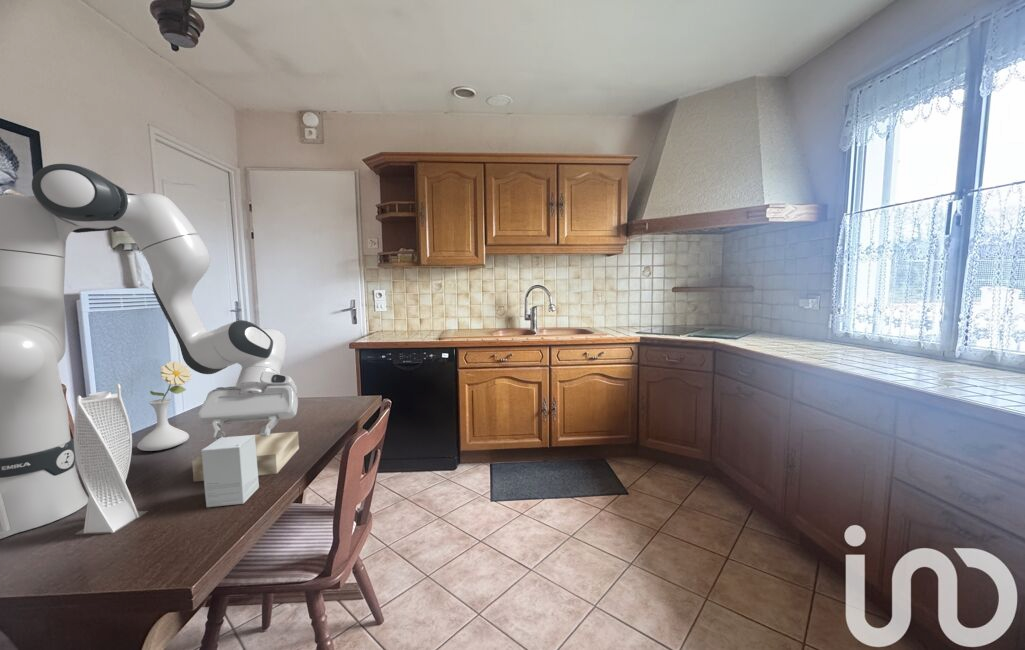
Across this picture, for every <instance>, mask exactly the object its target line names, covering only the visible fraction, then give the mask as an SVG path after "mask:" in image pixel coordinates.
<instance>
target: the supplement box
mask: <svg viewBox="0 0 1025 650" xmlns="http://www.w3.org/2000/svg"><path fill="white" fill-rule="evenodd" d="M248 435H249V436H245V435H235V436H236V437H232V436H227V437H225V436H224V437H221V438H219V439H218V440H214V441H213V442H211V443H210V444H209V445H207V446H205V447H204V448H202V449H201V450H200V454H201V455H202V465H203V476H204V481H203V486H204V496H205V503H206V504H205V506H206V508H213V507H214V508H215V507H222V506H232V505H242V504H243V505H244V504H245V503H246V502H247V500H249V498H251V496H253V494H254V493H256V491H257V490H259V488H260V484H259V476H258V468H257V455H256V443H255V435H256V434H251V435H250V434H248ZM201 455H200V456H201Z"/></svg>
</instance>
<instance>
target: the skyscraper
mask: <svg viewBox="0 0 1025 650" xmlns="http://www.w3.org/2000/svg"><path fill="white" fill-rule="evenodd" d="M115 385H116V386H115V387H116V393H115V392H114V393H112V392H111V391H107V390H106V391H105V390H104V391H99V392H92V393H88V396H87V397H82V396H81V395H77V397H76V409H75V416H74V424H73V426H74V427H73V439H74V450H75V463H76V466H77V469H78V472H79V475H80V479H81V480H82V483H83V485H84V487H85V490H86V492H87V494H88V503H87V504H86V506H87V508H86V513H85V519H84V520H85V521H84V527H83V528H82V529H80V530H79V531H76V532H75V533H74V535H93V534H98V535H99V534H101V535H102V534H115V533H116V532H118V531H119V530H121V529H123V528H124V527H125V526H127V525H129V524H131V523H132V522H133V521H135V520H137V519H139V518H140V517H142V516H143V515H145V514H147V513H148V510H144V511H143V510H141V511H138V510H137V507H136V505H135V503H134V500H133V497H132V494H131V492H130V490H129V488H128V486H127V483H126V480H127V478H128V474H129V470H130V466H131V465H130V464H131V458H132V452H133V451H132V450H133V435H132V428H131V427H132V426H131V423H130V419H129V416H128V412H127V409H126V406H125V404H124V400H123V397H122V391H121V390H122V386H121V384H120V383H117V384H115Z"/></svg>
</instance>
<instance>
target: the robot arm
mask: <svg viewBox="0 0 1025 650" xmlns="http://www.w3.org/2000/svg"><path fill="white" fill-rule="evenodd" d="M31 190H32V194H33V195H28V196H26V195H20V194H0V540H2V539H5V538H7V537H10V536H12V535H15V534H18V533H22V532H26V531H29V530H32V529H36V528H39V527H42V526H44V525H48V524H51V523H53V522H56V521H58V520H61V519H63V518H65V517H68V516H69V515H71V514H73V513H75V512H77V511H79V510H81V509H82V508H83V507H85V506H87V504H88V498H89V495H87V493H86V492H85V490H84V487H83V486H82V482H81V480H80V478H79V475H78V472H77V468H76V464H75V463H76V457H75V450H74V438H72V437H71V430H70V420H69V411H68V401H67V400H66V397H65V393H64V390H63V385H62V382H61V377H60V371H59V363H60V361H61V360H62V359H63V358H64V356H65V354H66V346H67V345H66V339H67V338H66V314H65V313H66V312H65V311H66V310H65V300H64V299H65V297H64V296H65V277H66V276H65V274H66V272H65V271H66V250H67V249H66V246H67V239H68V237H69V235H70V234H71V233H75V234H78V233H80V234H81V233H89V232H104V231H105V232H106V231H111V230H115V229H118V228H119V229H122V230H123V231H124V232H126V233H127V234H128V235H129V236H130V238H131V239H132V240H133V241H134V242H135V244H136V246H137V248H138V249H139V250H140V252H141V253H142V255H143V256H144V258H145V259H146V262H147V264H148V266H149V269H150V273H151V277H152V281H151V286H152V287H151V288H152V291H153V294H154V296H155V298H156V300H157V303H158V305H159V306H160V308H161V311H162V312H163V315H164V317H165V318H166V320H167V322H168V324H169V326H170V329H171V330H172V332H173V333H174V335H175V338H176V339H177V342H178V345H179V348H180V352H181V355H182V360H183V361H184V362H185V364H186V366H187V367H189V368H190V369H191V370H193V371H194V372H196V373H199V374H201V375H202V374H203V375H213V374H216V373H219V372H221V371H222V370H225V369H226V368H228V367H231V366H233V365H236V364H238V365H240V366H241V369H240V373H239V375H238V379H237V380H236V383H235V386H227V387H223V386H221V387H216V388H215V389H212V390H211V391H209V392H208V393H207V395H206V398H205V400H204V402H203V404H202V405H201V407H200V409H199V411H198V413H197V418H198V419H199V420H200V422H202V423H203V424H204V425H212V426H213V429H214V434H213V437H212V438H213V440H214V441H216V440H218V439H219V438H221V437H225V436H226V434H227V433H226V432H225V431H224V430H223V429H221V428H223V427H224V425H225V424H232V423H233V424H234V423H248V422H261V421H262V422H263V421H268V423H267V424H266V425H265V426H261V427H260V430H259V431H260V432H259V434H260V435H261V436H262V437H264V436H269V435H270V434H271V431H272V430H273V429H274V428H275V426H277V425H278V423H279V420H291V419H293V418H294V417H295V416H296V415H297V412H298V406H299V399H298V398H299V397H298V396H297V393H298V387H297V385H296V383H295V381H294V379H292V378H293V377H291V376H289V375H285V374H281V371H282V369H283V367H284V365H285V363H286V362H285V361H286V358H287V351H288V342H287V339H286V336H285V334H283V333H282V332H281V331H279V330H278V329H275V328H270V327H268V328H266V327H265V328H261V327H259V326H258V325H256V324H254V323H252V322H250V321H248V320H243V319H242V320H241V319H239V320H235V321H233V322H230V323H227V324H225V325H222V326H220V327H218V328H216V329H213V330H210V331H208V330H207V329H206V328H205V325H204V323H203V321H202V319H201V318H200V315H199V313H198V311H197V309H196V307H195V305H194V302H193V297H192V296H193V291H194V289H195V288H196V286H197V284H198V283H199V282H200V280H201V279H202V278H203V277H204V276H205V275H206V273H207V271H208V270H209V266H210V263H211V255H210V253H209V250H208V248H207V246H206V244H205V242H204V241H203V239H202V238H201V236H200V235H199V233H198V232H197V230H196V229H195V227H194V226H193V224H192V223H191V222H190V221H189V218H187V217H186V215H185V214H184V213H183V211H182V210H181V209H180V208H179V207H178V206H177V205H176V204H175V203H174V202H173V200H171V199H170V198H169V197H168V196H165V195H163V194H160V193H154V192H142V193H136V194H127V192H126V191H125V189H123V188H122V187H120V186H119V185H117V184H115V183H113V182H112V181H110V180H109V179H107V178H106V177H104V176H103V175H101V174H100V173H98V172H96V171H93V170H92V169H89V168H86V167H83V166H79V165H76V164H70V163H54V164H49V165H46V166H44V167H42V168H40V169H39V170H38V171H37V172H36V173H35V174H34V175H33V177H32V180H31Z"/></svg>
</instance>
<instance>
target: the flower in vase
mask: <svg viewBox="0 0 1025 650" xmlns="http://www.w3.org/2000/svg"><path fill="white" fill-rule="evenodd" d="M160 371H161V372H160V375H161V377H160V378H161V379H162V380H163V381H164V382H167V384H168V388H167V390H166V392H165V393H164V392H156V391H153V390H150V395H153V396H161V397H162V398H159V399H154V400H151V401H148V404H149V405H150V406H152V407H153V409H154V411H155V414H156V415H155V416H156V426H155V427H154V428H153V430H152V431H150V432H149V433H148V434H146V435H145V436H144V437H143V438H142V439H141V440H140V441H139V442H138V444H137V445H136V448H138V449H139V450H140V451H147V452H148V451H149V452H152V451H153V452H154V451H162V450H167V449H171V448H174V447H176V446H179V445H181V444H183V443H185V442H186V441H188V440H189V438H190V435H189V433H188V432H186V431H184V430H181V429H180V428H177V427H175V426H173V425H171V424H170V423H169V420H168V410H169V409H168V407H169V405H170V403H171V402H172V400H173V398H166V396H167V394H168V393H169V392H172V393H173V394H176V395H178V394H181V393H183V392H185V391H186V390H187V389H186V388H185V387H183V386H184V385H185V384H186V383H188V382H189V381H190V380H192V379H191V376H192V373H191V370H190V369H189V368H188V365H184V364H183V363H182V362H178V361H174V362H173V361H168V362H166V363H165V365H162V366H161V367H160ZM171 385H173V386H171Z"/></svg>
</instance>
